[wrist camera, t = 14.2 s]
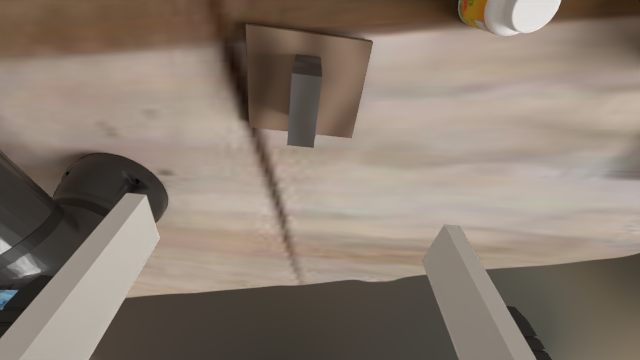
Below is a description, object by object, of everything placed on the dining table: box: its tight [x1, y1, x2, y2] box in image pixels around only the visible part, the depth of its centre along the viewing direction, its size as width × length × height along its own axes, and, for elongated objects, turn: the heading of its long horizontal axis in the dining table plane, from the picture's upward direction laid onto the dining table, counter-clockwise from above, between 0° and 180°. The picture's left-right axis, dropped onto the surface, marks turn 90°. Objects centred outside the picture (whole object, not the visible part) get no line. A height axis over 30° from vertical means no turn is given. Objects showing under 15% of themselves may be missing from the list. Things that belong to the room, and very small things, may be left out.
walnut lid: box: [246, 23, 373, 148], centre depth 33 cm, size 15×13×10 cm
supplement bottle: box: [458, 0, 561, 36], centre depth 27 cm, size 5×5×10 cm
